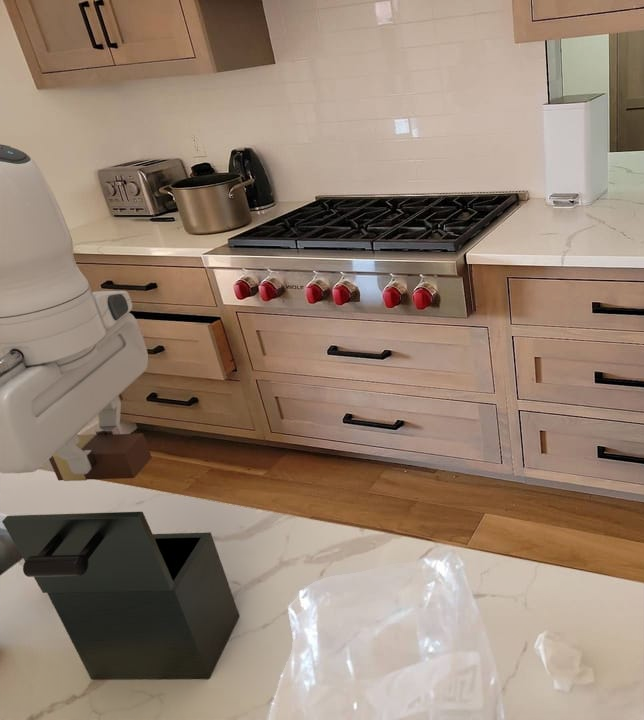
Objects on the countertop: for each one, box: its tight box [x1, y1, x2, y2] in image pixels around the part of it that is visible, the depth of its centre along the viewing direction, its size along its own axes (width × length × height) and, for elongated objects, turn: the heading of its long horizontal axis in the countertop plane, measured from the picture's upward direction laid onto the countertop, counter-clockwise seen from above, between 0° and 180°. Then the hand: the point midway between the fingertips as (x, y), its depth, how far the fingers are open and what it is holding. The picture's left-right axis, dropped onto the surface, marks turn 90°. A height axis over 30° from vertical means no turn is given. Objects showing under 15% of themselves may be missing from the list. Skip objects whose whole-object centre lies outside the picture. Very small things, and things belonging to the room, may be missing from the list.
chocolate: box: [48, 432, 153, 482], centre depth 68 cm, size 8×4×3 cm, turn 86°
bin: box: [46, 531, 240, 680], centre depth 75 cm, size 9×14×13 cm, turn 86°
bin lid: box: [1, 511, 174, 594], centre depth 63 cm, size 10×14×5 cm
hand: (100, 455), depth 67 cm, fingers closed on chocolate, 3 cm apart
